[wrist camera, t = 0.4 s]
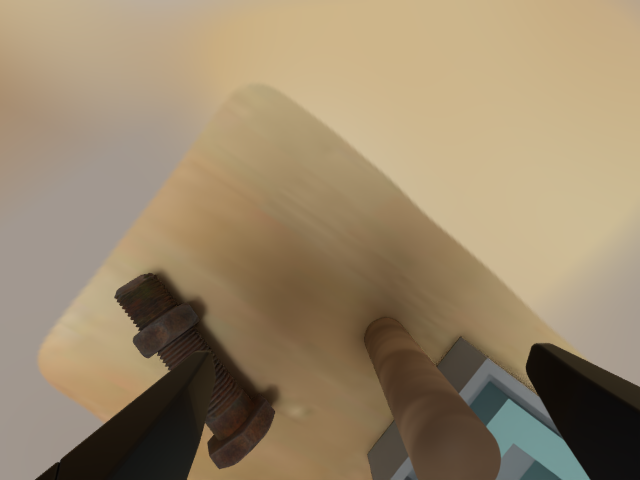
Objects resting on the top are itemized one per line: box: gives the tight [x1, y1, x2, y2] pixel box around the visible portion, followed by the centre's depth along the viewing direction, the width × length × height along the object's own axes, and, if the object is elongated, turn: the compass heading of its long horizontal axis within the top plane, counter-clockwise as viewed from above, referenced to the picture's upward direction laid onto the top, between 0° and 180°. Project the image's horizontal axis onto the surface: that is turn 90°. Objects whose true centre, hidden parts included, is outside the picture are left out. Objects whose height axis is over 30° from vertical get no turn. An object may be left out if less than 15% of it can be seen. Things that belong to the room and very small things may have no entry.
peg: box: [364, 318, 501, 480], centre depth 19 cm, size 4×4×13 cm
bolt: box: [115, 273, 275, 469], centre depth 23 cm, size 6×5×15 cm
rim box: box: [367, 337, 590, 480], centre depth 24 cm, size 13×18×4 cm
